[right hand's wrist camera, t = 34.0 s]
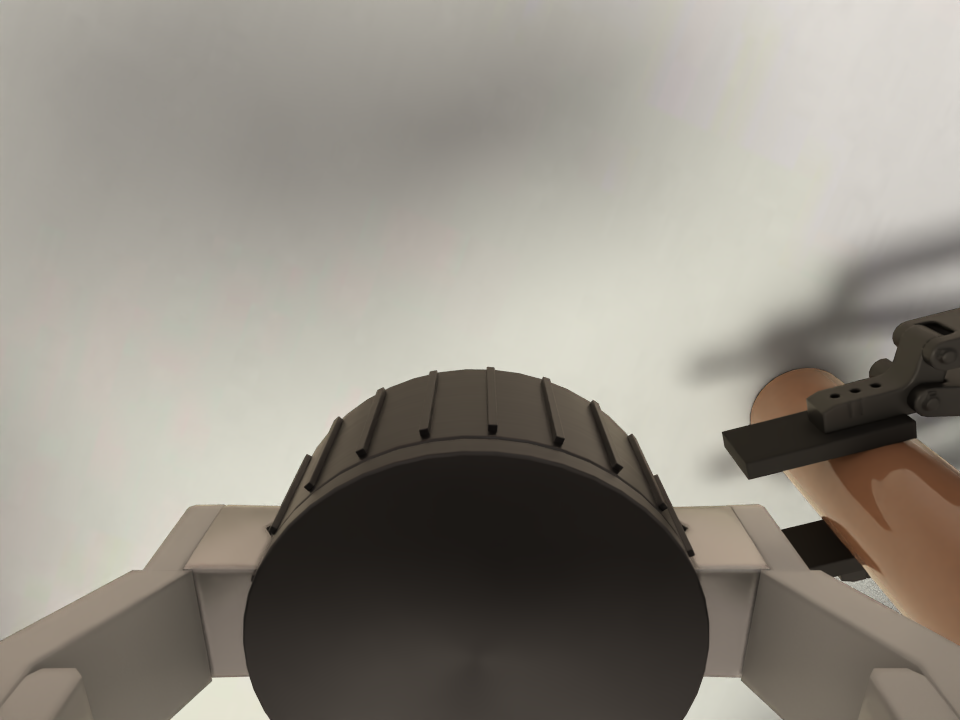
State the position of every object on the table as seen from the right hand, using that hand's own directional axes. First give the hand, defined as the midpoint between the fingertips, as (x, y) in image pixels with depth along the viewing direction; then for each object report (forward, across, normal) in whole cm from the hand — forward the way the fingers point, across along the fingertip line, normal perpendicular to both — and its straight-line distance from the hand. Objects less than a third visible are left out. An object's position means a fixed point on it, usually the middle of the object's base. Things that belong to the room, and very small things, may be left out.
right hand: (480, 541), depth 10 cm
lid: (-2, 0, 0) cm, 2 cm away
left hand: (+16, +11, -10) cm, 22 cm away
